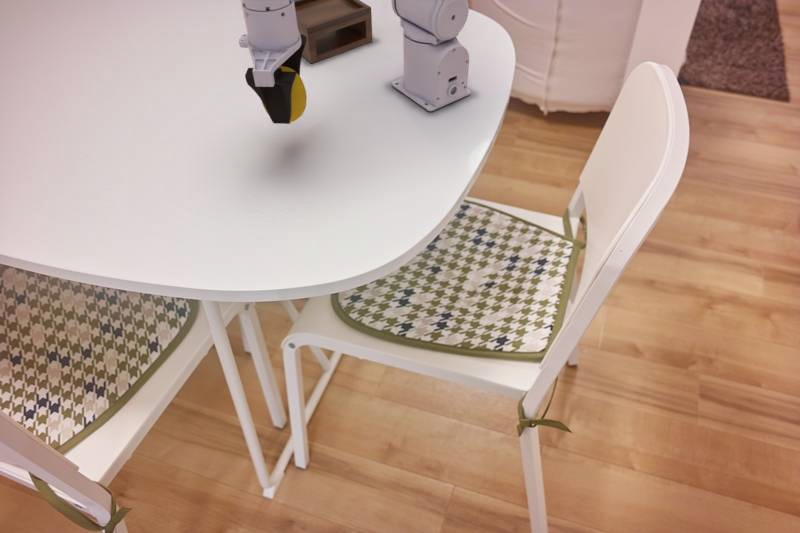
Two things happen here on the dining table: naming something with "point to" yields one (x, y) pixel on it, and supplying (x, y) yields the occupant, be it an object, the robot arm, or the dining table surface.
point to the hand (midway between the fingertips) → (285, 108)
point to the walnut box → (332, 26)
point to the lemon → (296, 96)
